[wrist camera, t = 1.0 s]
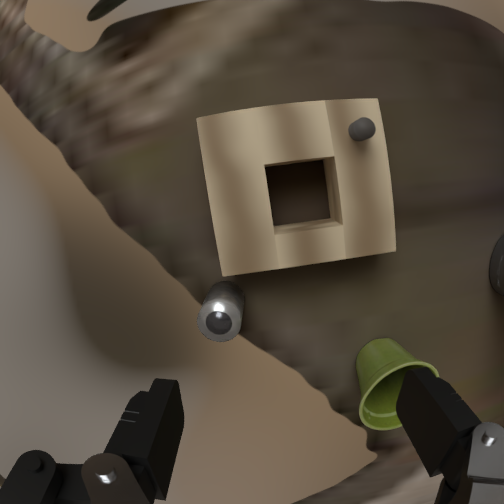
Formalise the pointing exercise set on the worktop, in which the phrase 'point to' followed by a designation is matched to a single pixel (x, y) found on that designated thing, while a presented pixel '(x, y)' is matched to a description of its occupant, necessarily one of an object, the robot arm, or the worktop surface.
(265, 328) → the worktop surface
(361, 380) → the plant pot
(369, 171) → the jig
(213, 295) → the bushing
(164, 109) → the worktop surface
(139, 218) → the worktop surface
